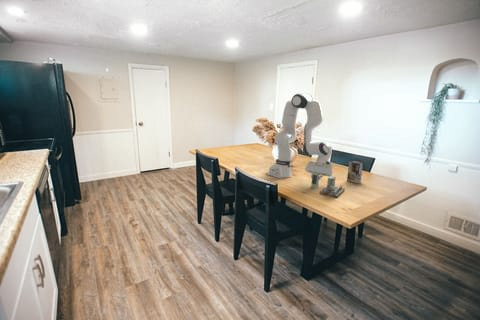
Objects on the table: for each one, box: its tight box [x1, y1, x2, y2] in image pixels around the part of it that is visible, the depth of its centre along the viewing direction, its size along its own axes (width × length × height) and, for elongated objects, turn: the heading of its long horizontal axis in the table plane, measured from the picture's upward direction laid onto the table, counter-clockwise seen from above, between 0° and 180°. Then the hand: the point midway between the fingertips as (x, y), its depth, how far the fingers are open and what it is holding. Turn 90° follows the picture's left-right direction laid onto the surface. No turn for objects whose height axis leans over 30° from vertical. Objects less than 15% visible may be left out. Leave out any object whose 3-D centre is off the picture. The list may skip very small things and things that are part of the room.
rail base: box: [319, 175, 345, 199], centre depth 177 cm, size 12×18×12 cm, turn 142°
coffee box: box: [346, 160, 364, 184], centre depth 201 cm, size 9×6×16 cm
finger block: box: [310, 172, 320, 189], centre depth 187 cm, size 4×4×11 cm
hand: (315, 178), depth 186 cm, fingers closed on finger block, 4 cm apart
